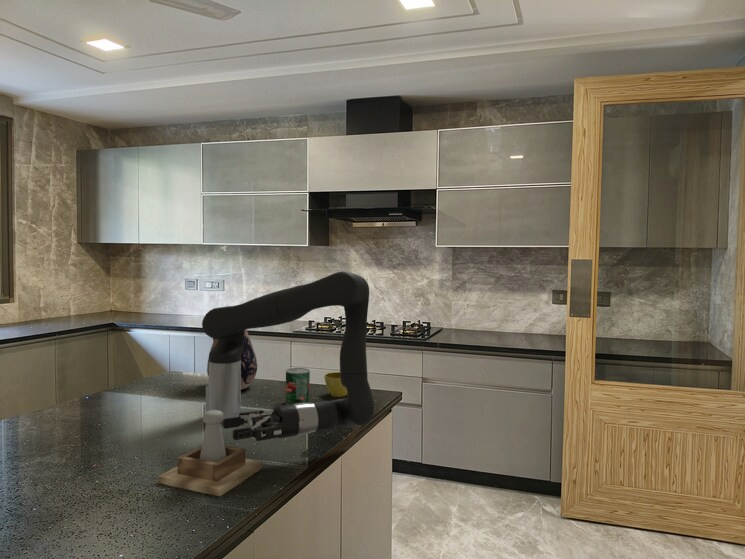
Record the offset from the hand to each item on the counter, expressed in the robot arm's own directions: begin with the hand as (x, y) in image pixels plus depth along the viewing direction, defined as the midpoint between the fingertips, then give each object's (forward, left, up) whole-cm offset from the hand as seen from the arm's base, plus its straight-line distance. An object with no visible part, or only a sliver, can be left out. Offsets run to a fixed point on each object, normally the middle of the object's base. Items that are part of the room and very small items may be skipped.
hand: (227, 429), depth 125 cm
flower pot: (-5, +71, -10) cm, 72 cm away
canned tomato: (-13, +56, -10) cm, 59 cm away
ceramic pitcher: (-45, +63, -10) cm, 78 cm away
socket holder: (-2, -3, -10) cm, 11 cm away
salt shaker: (-2, -3, -9) cm, 9 cm away
